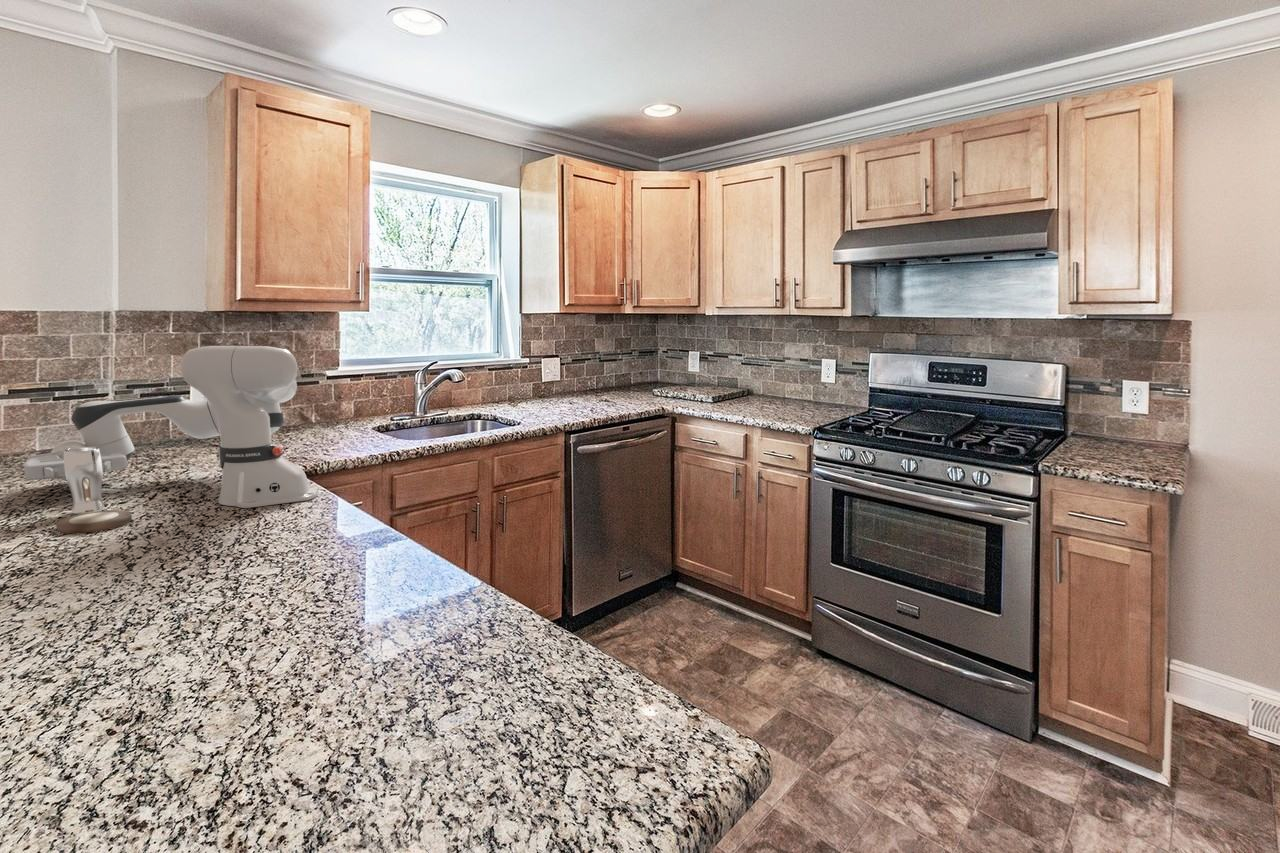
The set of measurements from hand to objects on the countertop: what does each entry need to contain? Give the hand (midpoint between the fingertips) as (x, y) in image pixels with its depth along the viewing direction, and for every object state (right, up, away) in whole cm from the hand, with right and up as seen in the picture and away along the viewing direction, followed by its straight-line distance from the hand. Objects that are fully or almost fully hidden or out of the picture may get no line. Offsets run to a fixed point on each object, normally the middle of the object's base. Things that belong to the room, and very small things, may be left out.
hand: (80, 470), depth 167 cm
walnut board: (+18, -11, -17) cm, 27 cm away
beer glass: (+8, -9, -7) cm, 14 cm away
